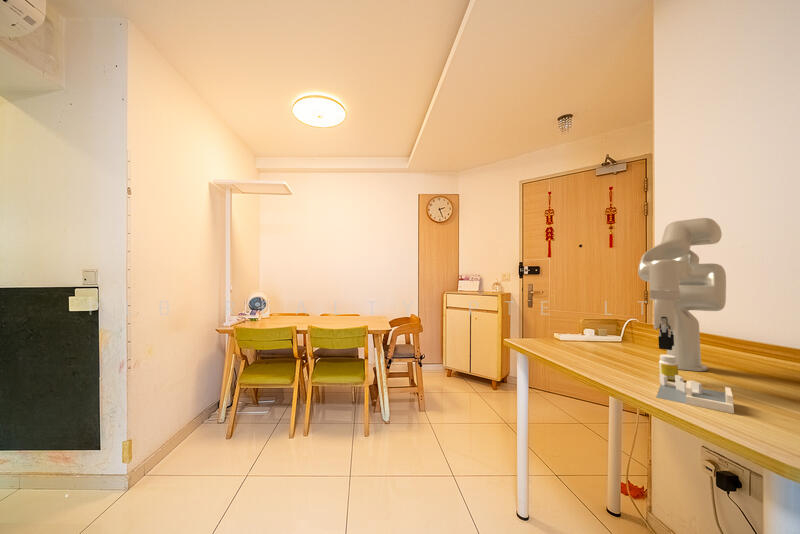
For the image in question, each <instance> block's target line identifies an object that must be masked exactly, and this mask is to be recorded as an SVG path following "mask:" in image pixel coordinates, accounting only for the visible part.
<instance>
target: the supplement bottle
mask: <svg viewBox="0 0 800 534" xmlns="http://www.w3.org/2000/svg"><path fill="white" fill-rule="evenodd" d="M659 359H660V360H659V361H658V375H659V374H663V375H665V376H667V382H672V383H675V375H679V369H678V364H677V363H676V362H675V361H676V357H675V356H672V355H667V354H660V355H659ZM658 378H659V379H660V376H659V377H658Z"/></svg>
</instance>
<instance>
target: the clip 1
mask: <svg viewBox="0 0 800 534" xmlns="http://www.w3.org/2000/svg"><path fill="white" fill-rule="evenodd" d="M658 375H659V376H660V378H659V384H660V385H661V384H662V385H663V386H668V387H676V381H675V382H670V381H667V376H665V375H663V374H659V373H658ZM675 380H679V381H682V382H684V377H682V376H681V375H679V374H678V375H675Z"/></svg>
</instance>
